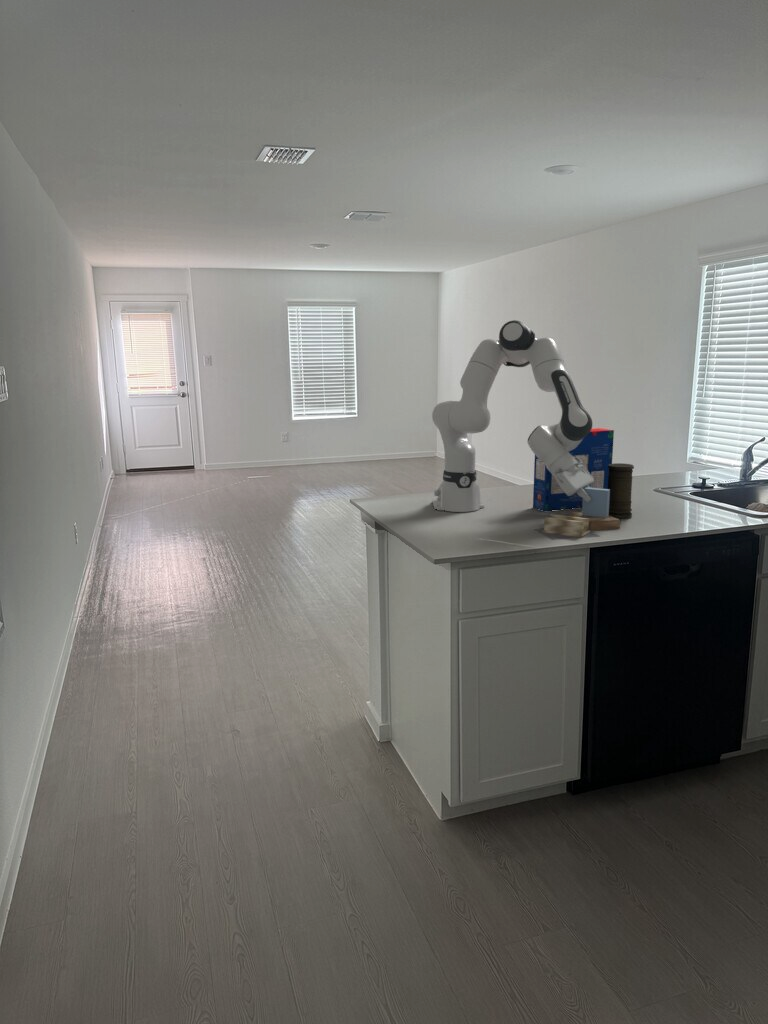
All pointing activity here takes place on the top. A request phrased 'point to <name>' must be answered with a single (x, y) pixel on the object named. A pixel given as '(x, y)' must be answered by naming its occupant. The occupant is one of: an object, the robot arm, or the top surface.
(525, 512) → the top surface
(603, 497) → the light blue square slab
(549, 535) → the mat
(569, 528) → the mottled beige block
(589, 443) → the blue cardboard box
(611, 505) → the container
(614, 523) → the brown flat block
